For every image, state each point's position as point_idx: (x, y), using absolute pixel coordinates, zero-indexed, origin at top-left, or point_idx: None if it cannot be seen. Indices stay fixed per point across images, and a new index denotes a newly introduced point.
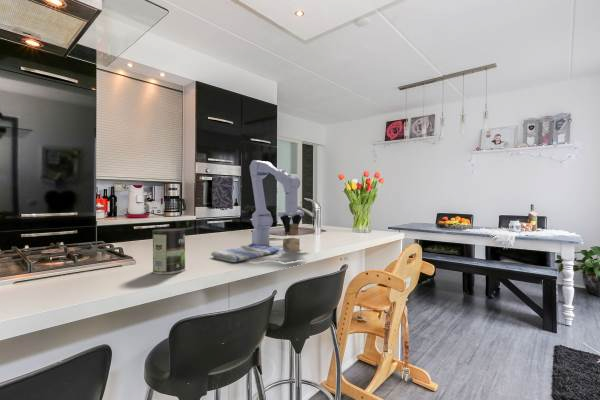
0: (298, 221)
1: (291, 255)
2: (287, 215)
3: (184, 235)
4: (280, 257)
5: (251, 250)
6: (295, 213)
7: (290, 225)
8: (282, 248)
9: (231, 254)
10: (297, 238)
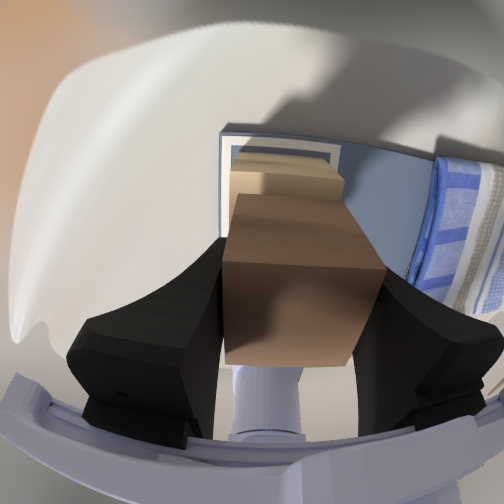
0: (190, 298)
1: (389, 86)
2: (441, 422)
3: None
4: (454, 106)
5: (479, 258)
6: (472, 417)
7: (379, 266)
8: None
9: None
10: (246, 182)
